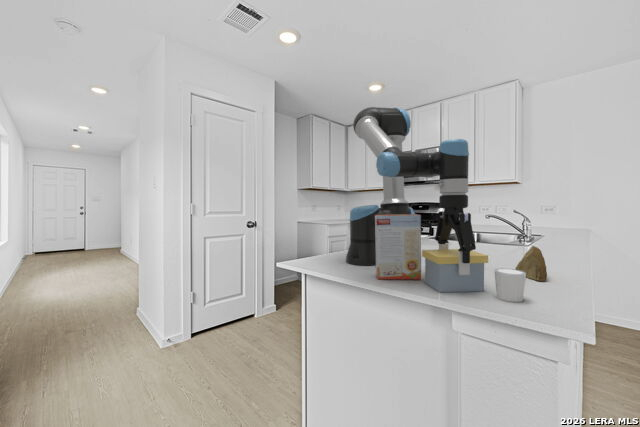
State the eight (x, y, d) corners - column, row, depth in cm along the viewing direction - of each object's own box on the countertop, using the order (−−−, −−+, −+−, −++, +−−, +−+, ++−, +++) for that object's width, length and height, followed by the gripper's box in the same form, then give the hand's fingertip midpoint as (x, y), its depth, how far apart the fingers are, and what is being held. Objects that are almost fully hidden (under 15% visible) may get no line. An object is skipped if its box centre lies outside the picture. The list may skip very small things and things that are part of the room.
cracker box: (417, 275, 97) (417, 213, 96) (421, 280, 91) (421, 214, 90) (375, 274, 98) (374, 214, 97) (376, 279, 92) (376, 215, 91)
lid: (422, 259, 89) (422, 249, 89) (466, 258, 90) (466, 248, 89) (438, 267, 78) (438, 256, 78) (488, 266, 79) (488, 255, 78)
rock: (558, 276, 84) (554, 265, 92) (537, 252, 86) (535, 243, 94) (522, 292, 90) (521, 280, 98) (503, 270, 92) (504, 260, 100)
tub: (425, 282, 89) (425, 256, 88) (464, 281, 89) (465, 255, 89) (439, 292, 79) (439, 263, 79) (483, 290, 80) (484, 262, 79)
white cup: (528, 297, 74) (529, 270, 73) (522, 304, 69) (523, 276, 69) (498, 292, 79) (498, 266, 78) (490, 298, 74) (490, 271, 74)
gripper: (424, 195, 94) (424, 261, 95) (462, 193, 71) (462, 280, 72) (446, 194, 95) (446, 260, 96) (492, 193, 71) (491, 280, 72)
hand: (453, 269), depth 84 cm, fingers closed on lid, 11 cm apart
